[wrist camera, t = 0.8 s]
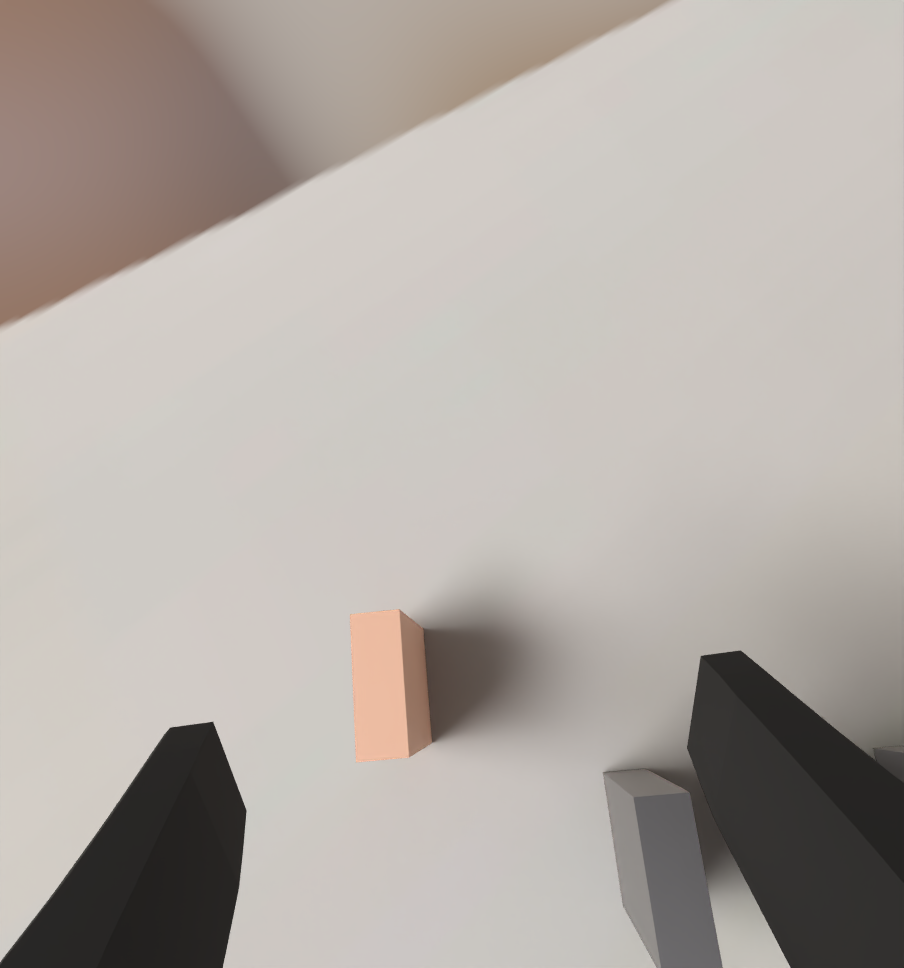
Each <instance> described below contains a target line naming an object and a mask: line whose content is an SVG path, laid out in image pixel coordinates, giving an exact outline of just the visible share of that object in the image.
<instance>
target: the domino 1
mask: <svg viewBox="0 0 904 968" xmlns="http://www.w3.org/2000/svg"><path fill="white" fill-rule="evenodd" d="M350 627H351V651H352V675H353V699H354V723H355V747H356V762H365V761H376V760H387V759H398V758H408V757H411V756H412V755H414V754H415V753H417V752H418V751H420V750H422V749H423V748H425V747H426V746H428V745H430V744H431V743H432V736H431V723H430V709H429V696H428V683H427V670H426V657H425V644H424V631H423V628H422V627H421V626H419V625H418V624H417V623H416V622H414V621H413V620H412V619H411V618H409V617H408V616H407V615H406V614H404V613H403V612H402V611H401V610H400V609H397V610H388V611H378V612H368V613H359V614H350Z"/></svg>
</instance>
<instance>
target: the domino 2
mask: <svg viewBox="0 0 904 968" xmlns="http://www.w3.org/2000/svg"><path fill="white" fill-rule="evenodd" d="M603 776H604V783H605V789H606V796H607V803H608V809H609V816H610V823H611V829H612V836H613V843H614V849H615V856H616V863H617V869H618V876H619V883H620V889H621V896H622V903H623V907H624V908H625V910H626V912H627V914H628V916H629V918H630V919H631V921H632V923H633V925H634V927H635V929H636V930H637V932H638V934H639V936H640V938H641V940H642V941H643V943H644V945H645V947H646V949H647V951H648V952H649V954H650V956H651V958H652V960H653V962H654V963H655V965H656V967H657V968H723V967H722V961H721V956H720V951H719V945H718V940H717V935H716V929H715V924H714V919H713V913H712V908H711V903H710V897H709V892H708V886H707V881H706V876H705V870H704V865H703V860H702V854H701V849H700V844H699V838H698V833H697V828H696V822H695V817H694V811H693V806H692V801H691V795H690V792H688V791H687V790H685V789H683V788H681V787H679V786H677V785H675V784H673V783H672V782H670V781H668V780H666V779H664V778H662V777H660V776H658V775H656V774H655V773H653V772H651V771H649V770H647V769H636V770H625V771H614V772H603Z"/></svg>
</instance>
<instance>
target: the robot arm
mask: <svg viewBox="0 0 904 968" xmlns="http://www.w3.org/2000/svg"><path fill="white" fill-rule="evenodd" d="M687 749H688V751H689V754H690V757H691V760H692V762H693V765H694V768H695V770H696V773H697V776H698V779H699V781H700V784H701V787H702V789H703V792H704V794H705V797H706V799H707V802H708V804H709V807H710V809H711V812H712V814H713V817H714V819H715V821H716V823H717V825H718V827H719V829H720V831H721V833H722V835H723V837H724V839H725V841H726V843H727V845H728V847H729V849H730V851H731V853H732V855H733V857H734V859H735V861H736V862H737V864H738V866H739V868H740V870H741V872H742V874H743V876H744V878H745V880H746V882H747V884H748V886H749V888H750V890H751V892H752V894H753V896H754V898H755V899H756V901H757V903H758V905H759V907H760V909H761V911H762V913H763V915H764V917H765V919H766V921H767V923H768V925H769V927H770V929H771V930H772V932H773V934H774V936H775V938H776V940H777V942H778V944H779V946H780V948H781V950H782V952H783V954H784V956H785V958H786V960H787V961H788V963H789V965H790V967H791V968H904V783H903V782H902V781H901V780H899V779H898V778H897V777H895V776H894V775H893V774H892V773H890V772H889V771H888V770H887V769H885V768H884V767H883V766H881V765H880V764H879V763H878V762H876V761H875V760H874V759H873V758H871V757H870V756H869V755H867V754H866V753H865V752H864V751H862V750H861V749H860V748H859V747H857V746H856V745H855V744H853V743H852V742H851V741H850V740H848V739H847V738H846V737H845V736H843V735H842V734H841V733H840V732H839V731H837V730H836V729H835V728H834V727H832V726H831V725H830V724H829V723H827V722H826V721H825V720H824V719H823V718H821V717H820V716H819V715H818V714H817V713H815V712H814V711H813V710H812V709H810V708H809V707H808V706H807V705H806V704H804V703H803V702H802V701H801V700H800V699H798V698H797V697H796V696H795V695H794V694H792V693H791V692H790V691H789V690H788V689H786V688H785V687H784V686H783V685H782V684H780V683H779V682H778V681H777V680H776V679H774V678H773V677H772V676H771V675H770V674H768V673H767V672H766V671H765V670H764V669H762V668H761V667H760V666H759V665H758V664H756V663H755V662H754V661H753V660H752V659H750V658H749V657H748V656H747V655H746V654H744V653H743V652H742V651H733V652H726V653H719V654H711V655H704V656H701V659H700V666H699V672H698V679H697V686H696V692H695V699H694V706H693V712H692V719H691V726H690V733H689V739H688V746H687ZM245 821H246V808H245V806H244V803H243V800H242V798H241V795H240V792H239V790H238V787H237V784H236V782H235V779H234V776H233V774H232V771H231V768H230V766H229V763H228V760H227V758H226V755H225V752H224V750H223V747H222V744H221V742H220V739H219V736H218V734H217V731H216V728H215V726H214V723H213V722H209V723H201V724H194V725H186V726H179V727H172V728H170V729H169V730H168V731H167V732H166V733H165V734H164V736H163V737H162V739H161V740H160V742H159V743H158V745H157V746H156V748H155V749H154V751H153V752H152V753H151V755H150V756H149V758H148V759H147V761H146V762H145V764H144V765H143V767H142V768H141V770H140V771H139V773H138V774H137V776H136V777H135V779H134V780H133V782H132V783H131V785H130V786H129V787H128V789H127V790H126V792H125V793H124V795H123V796H122V798H121V799H120V801H119V802H118V804H117V805H116V806H115V808H114V809H113V811H112V812H111V814H110V815H109V817H108V818H107V819H106V821H105V822H104V824H103V825H102V827H101V828H100V829H99V831H98V832H97V834H96V835H95V836H94V838H93V839H92V841H91V842H90V843H89V845H88V846H87V848H86V849H85V850H84V852H83V853H82V854H81V856H80V857H79V859H78V860H77V861H76V863H75V864H74V866H73V867H72V868H71V870H70V871H69V873H68V874H67V875H66V877H65V878H64V880H63V881H62V882H61V884H60V885H59V886H58V888H57V889H56V890H55V892H54V893H53V894H52V896H51V897H50V899H49V900H48V901H47V903H46V904H45V905H44V906H43V908H42V909H41V910H40V912H39V913H38V914H37V915H36V917H35V918H34V919H33V921H32V922H31V923H30V924H29V926H28V927H27V928H26V930H25V931H24V932H23V934H22V935H21V936H20V937H19V939H18V940H17V941H16V943H15V944H14V945H13V946H12V948H11V949H10V950H9V952H8V953H7V954H6V955H5V957H4V958H3V959H2V961H1V962H0V968H223V963H224V958H225V954H226V949H227V944H228V939H229V934H230V929H231V924H232V919H233V915H234V910H235V905H236V900H237V894H238V889H239V882H240V873H241V864H242V855H243V844H244V833H245Z"/></svg>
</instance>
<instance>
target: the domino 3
mask: <svg viewBox="0 0 904 968" xmlns="http://www.w3.org/2000/svg"><path fill="white" fill-rule="evenodd" d="M873 749H874V753H875V757H876V760H877V762H878V763H879V764H880V765H881V766H883V767H884V768H885V769H887V770H888V771H889V772H890V773H892V774H893V775H894V776H895V777H897V778H898V779H899V780H901V781H902V782H903V783H904V746H893V747H882V748H873Z"/></svg>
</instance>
